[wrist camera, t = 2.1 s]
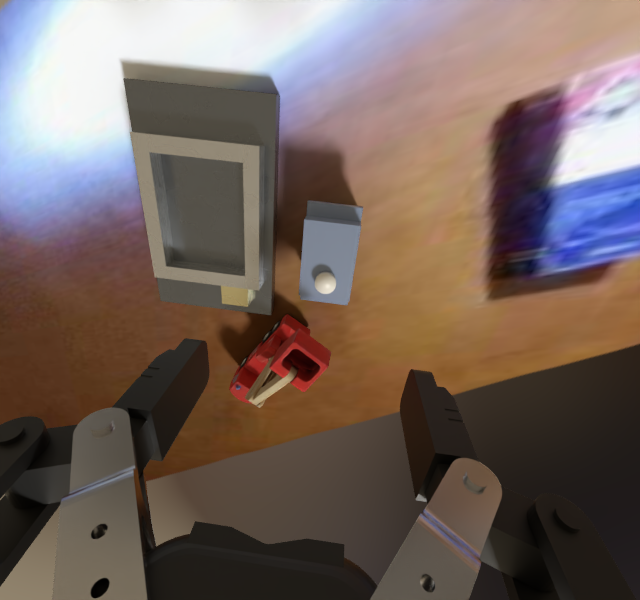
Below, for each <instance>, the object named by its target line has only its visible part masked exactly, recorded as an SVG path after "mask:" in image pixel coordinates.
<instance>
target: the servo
mask: <svg viewBox="0 0 640 600" xmlns="http://www.w3.org/2000/svg"><path fill="white" fill-rule="evenodd" d="M362 211H363V206H355V205H346V204H337V203H329V202H320V201H312V200H308V202H307V216H306V217H305V219H304V230H303V244H302V258H301V272H300V286H299V295H301V296H300V299H302V300H310V301H318V302H326V303H333V304H341V305H348V301H349V299H350V293H351V286H352V280H353V274H354V268H355V261H356V255H357V249H358V243H359V236H360V230H361V217H362Z"/></svg>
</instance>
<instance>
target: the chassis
mask: <svg viewBox="0 0 640 600" xmlns="http://www.w3.org/2000/svg"><path fill="white" fill-rule="evenodd" d="M124 84H125V90H126V96H127V102H128V108H129V114H130V120H131V126H132V132H130V135H131V141H132V146H133V152H134V158H135V164H136V170H137V176H138V182H139V187H140V193H141V199H142V205H143V211H144V217H145V223H146V228H147V234H148V240H149V246H150V252H151V258H152V264H153V269H154V275H155V277H157V281H158V287H159V293H160V299H161V301H166V302H174V303H181V304H189V305H196V306H204V307H212V308H219V309H227V310H235V311H242V312H250V313H258V314H265V315H271V314H272V312H273V310H274V288H275V253H276V218H277V184H278V149H279V114H280V96H279V95H277V94H270V93H260V92H251V91H241V90H231V89H222V88H212V87H202V86H193V85H183V84H173V83H164V82H154V81H144V80H135V79H125V78H124Z"/></svg>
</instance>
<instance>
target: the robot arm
mask: <svg viewBox="0 0 640 600" xmlns="http://www.w3.org/2000/svg"><path fill="white" fill-rule="evenodd" d="M208 379H209V361H208V351H207V343H206V342H205V341H202V340H194V339H184V340H183V341H182V342H181V343H180V344H179V346H178V347H177V348H176V349H175V350H170V349H169V350H168V351H166V352H164V353H163V354H161V355H159V356H158V357H156V358H155V360H154V361H153V362H152V363H151V364H150V365H149V366H148V369H146V370H145V371H144V372H143V373H142V374H141V377H139V378H138V379H137V380H136V381H135V382H134V383H133V384H132V385H131V387H130V388H129V389H128V390H127V391H126V392H125V393H124V394H123V396H122V397H121V398H120V399H119V400H118V401H117V402H116V403H115V405H114V406H113V407H112V408H106V409H102V410H99V411H97V412H94V413H92V414H91V415H89V416H87V417H86V418H84V419H83V420H82V421H81V422H80V423H79V424H78V425H72V426H64V427H56V428H48V429H46V426H45V424H44V422H43V421H42V420H41V419H40V418H37V417H21V418H17V419H13V420H11V421H8V422H6V423H3V424H1V425H0V498H1V497H2V496H3V495H4V494H5V496H4V497H3V498H2V499H1V500H0V586H1V585H2V583H3V582H4V581H5V579H6V578H7V577H8V575H9V574H10V572H11V571H12V570H13V568H14V567H15V566H16V564H17V563H18V562H19V560H20V559H21V558H22V556H23V555H24V553H25V552H26V550H27V549H28V548H29V546H30V545H31V544H32V542H33V541H34V540H35V538H36V537H37V536H38V534H39V533H40V531H41V530H42V529H43V527H44V526H45V525H46V523H47V522H48V521H49V519H50V518H51V516H52V515H53V514H54V512H55V511H56V510H57V508H58V507H59V506H60V514H59V526H58V538H57V549H56V561H55V573H54V586H53V598H52V600H468V599H469V597H470V594H471V591H472V588H473V586H474V583H475V580H476V577H477V574H478V572H479V569H480V565H481V561H483V562H485V563H486V564H488V565H490V566H492V567H494V568H496V569H498V570H500V571H501V573H502V577H503V580H504V583H505V587H506V590H507V593H508V597H509V600H636V598H635V596H634V595H633V593H632V591H631V589H630V588H629V586H628V584H627V582H626V581H625V579H624V577H623V576H622V574H621V572H620V570H619V569H618V567H617V565H616V563H615V561H614V560H613V558H612V556H611V555H610V553H609V551H608V549H607V548H606V546H605V544H604V542H603V541H602V539H601V537H600V535H599V534H598V532H597V530H596V529H595V527H594V525H593V523H592V522H591V521H590V519H589V518H588V517H587V516H586V515H585V513H583V511H582V510H580V509H579V508H578V507H577V506H576V505H574V504H573V503H571V502H570V501H569V500H567V499H565V498H563V497H561V496H558V495H556V494H552V493H544V494H541V495H539V496H538V497H537V499H536V500H535V501H534V500H532V499H530V498H527V497H524V496H523V495H520V494H518V493H516V492H513V491H511V490H509V489H507V488H505V487H503V486H501V485H500V483H499V481H498V479H497V478H496V476H495V475H494V474H493V473H492V471H490V470H489V469H488V468H487V467H486V466H484V465H483V464H481V463H480V462H479V460H478V457H477V455H476V452H475V450H474V447H473V445H472V442H471V440H470V437H469V434H468V432H467V429H466V427H465V424H464V423H463V419H462V417H461V414H460V413H459V409H458V407H457V405H456V402H455V399H454V398H453V397H452V395H451V394H450V393H449V392H448V391H447V390H446V388H444V387H437V385H436V382H435V379H434V376H433V374H432V373H431V372H427V371H420V370H413V369H411V370H410V372H409V374H408V378H407V381H406V384H405V388H404V391H403V394H402V398H401V403H400V414H401V420H402V426H403V431H404V437H405V442H406V448H407V454H408V460H409V465H410V471H411V477H412V482H413V488H414V493H415V499H416V500H419V501H425V502H427V507H426V508H425V510H424V512H422V513H421V514H420V516H419V517H418V519H417V521H416V522H415V524H414V526H413V528H412V529H411V531H410V533H409V534H408V536H407V538H406V539H405V541H404V543H403V544H402V546H401V548H400V550H399V551H398V553H397V555H396V557H395V558H394V560H393V561H392V563H391V565H390V567H389V568H388V570H387V572H386V573H385V575H384V577H383V579H382V580H381V582H380V583H379V586H377V584H376V583H375V582H374V581H373V579H372V578H371V577H370V576H369V575H368V574H367V573H366V572H365V571H364V570H363V569H361V568H360V567H359V566H358V565H356V564H355V563H353V562H352V561H350V560H348V559H346V558H344V544H338V543H331V542H325V541H318V540H311V539H302V540H296V541H289V542H282V543H275V544H264V543H262V542H260V541H258V540H256V539H254V538H252V537H250V536H248V535H246V534H244V533H242V532H240V531H238V530H236V529H234V528H232V527H228V526H221V525H215V524H208V523H202V522H195V523H194V526H193V528H192V531H191V533H190V534H187V535H183V536H180V537H176V538H174V539H171V540H169V541H166V542H164V543H162V544H160V545H158V546H157V547H156V542H155V537H154V533H153V528H152V522H151V514H150V507H149V501H148V493H147V486H146V479H145V472H144V468H145V467H146V465H147V463H148V462H149V460H150V459H151V460H157V461H163V459H164V457H165V456H166V454H167V452H168V450H169V449H170V447H171V445H172V444H173V442H174V440H175V438H176V437H177V435H178V433H179V432H180V430H181V428H182V427H183V425H184V423H185V421H186V420H187V418H188V416H189V415H190V413H191V411H192V409H193V408H194V406H195V404H196V403H197V401H198V399H199V397H200V396H201V394H202V392H203V391H204V389H205V387H206V385H207V382H208Z"/></svg>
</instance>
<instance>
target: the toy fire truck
mask: <svg viewBox="0 0 640 600" xmlns="http://www.w3.org/2000/svg"><path fill="white" fill-rule="evenodd" d="M309 335H310V330H309V329H308V328H306V327H305V326H304V325H302V324H301V323H300V322H298V321H297V320H295V319H294V318H293V317H291V316H290V315H288V314H286V315H285V316H284V317H283V318H282V321H278V322H277V323H276V324H275V326H274V327H273V329H272V332H271V331H269V332H268V333H267V334H266V335H265V337H264V338H263V341H262V342H261V343H260V344H259V345H258V346H257V347H256V348H255V349H254V350H253V351H252V353H251V354H250V355H249V357H246V358H245V359H244V360H243V362H242V363H241V365H240V366H239V367H238V369H237V371H236V373H235V375H234V378H233V380H232V382H231V385H230V388H229V390H230V391H231V393H232V394H233V395H234V396H235V397H236V398H237V399H239V400H241V401H243V402H246V403H253V404H254V405H256V406H257V407H259V408H260V407H261V406H262V405H263V403H264V402H265V400H266V399H267V398H268V397H269V396H271V395H272V394H273V393H275V392H276V391H278V390H279V389H281V388H282V387H283V386H285V385H286V384H287V383H289V382H290V383H291V384H292V385H294V386H295V387H296V388H298V389H299V390H301V391H302V392H305V391H306V390H307V389H308V388H309V387H310V386H311V385H312V384H313V383H314V382H315V381H316V380H317V378H319V376H320V375H321V374H322V373H323V372H324V371H325V370H326V369H327V368H328V366H329V360H330V356H331V352H330V351H329V350H328V349H327V348H325V347H324V346H323V345H321V344H320V343H318V342H317V341H316V340H314V339H313V338H312V337H310V336H309Z"/></svg>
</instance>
